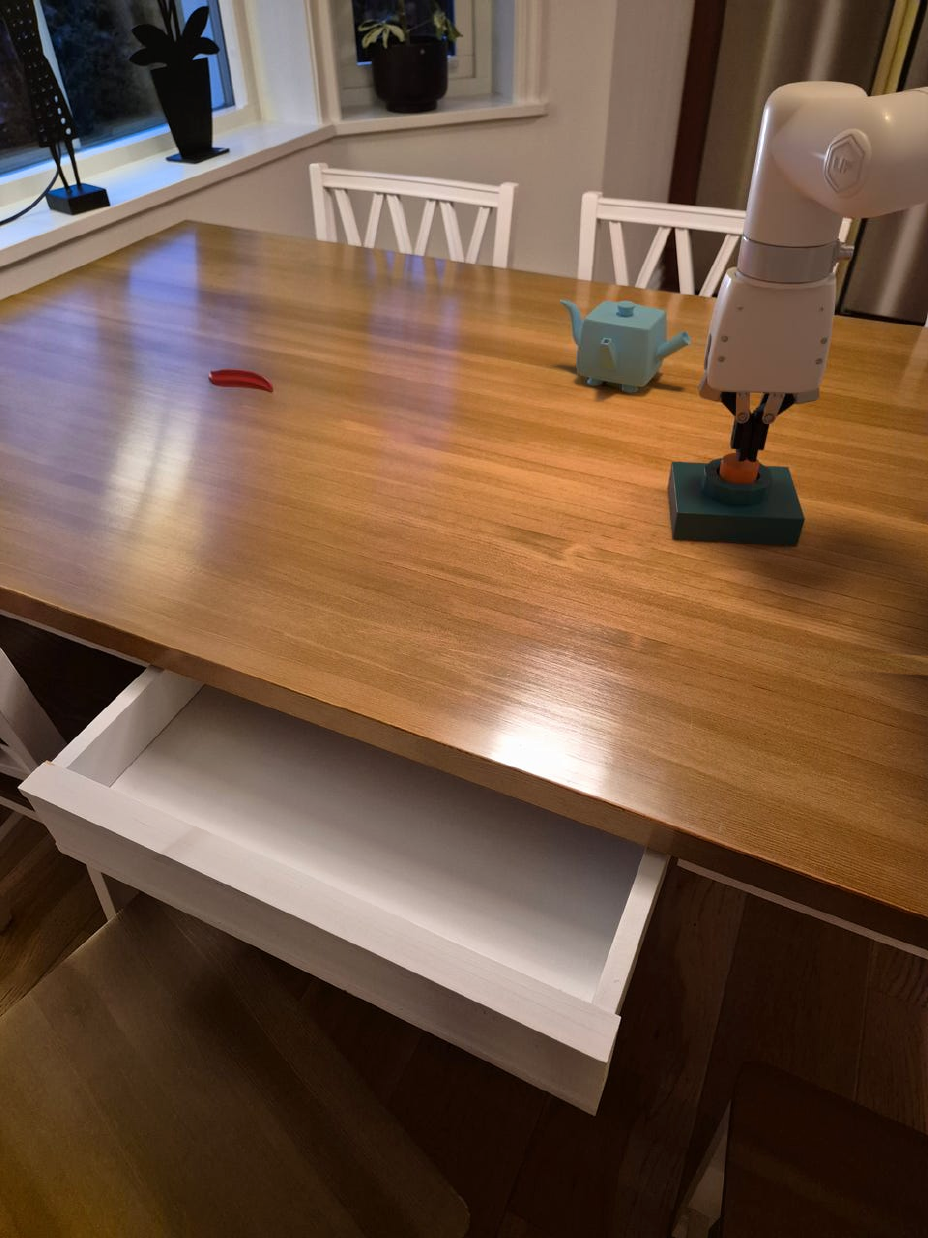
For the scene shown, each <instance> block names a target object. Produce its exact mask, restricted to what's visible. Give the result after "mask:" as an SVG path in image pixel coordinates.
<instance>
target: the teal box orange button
mask: <svg viewBox="0 0 928 1238" xmlns="http://www.w3.org/2000/svg"><path fill="white" fill-rule="evenodd" d="M722 458H723V457H720V458H719V457H718V458H715V459H712V460H710V461H709V462H707V463H706V462H690V461H689V462H688V461H671V463H670V470H669V476H668V482H667V495H668V504H669V512H670V513H669V514H670V523H671V525H670V526H671V535H672V539H673V540H680V541H682V540H683V541H698V542H699V541H700V542H715V543H717V542H719V543H735V544H751V545H752V544H753V545H770V546H788V547H789V546H790V547H797V546H798V545H799V542H800V538H801V535H802V532H803V527H804V525H805V521H806V518H805V515H804V512H803V508H802V506H801V503H800V499H799V496H798V493H797V490H796V487H795V484H794V480H793V477H792V474H791V471H790V467H789V466H778V465H777V466H776V465H773V466H772V465H764V464H762V463H761V462H759V463H760V465H759V469H758V474H757V478H756V481H755V482H753V483H749V484H734V483H731V482H728V481H725V480H723V479H722V478H721V477H720V476H719V472H720V466H721V461H722Z"/></svg>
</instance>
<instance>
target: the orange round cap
mask: <svg viewBox="0 0 928 1238" xmlns="http://www.w3.org/2000/svg"><path fill="white" fill-rule="evenodd" d="M721 458H722V461H721V466H720V472H719V476H720V477H721V478H722V479H723V480H725V481H728V482H731V483H734V484H749V483H753V482H755V481H756V478H757V474H758V469H759V465H760V463H761V462H760V460H759V459H758V457H757V458H756V462H750V461H749V460H744V462H740V461H738V458H737V454H736V452H730V453H727V454H725V455H723V457H721Z"/></svg>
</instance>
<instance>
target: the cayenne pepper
mask: <svg viewBox="0 0 928 1238" xmlns="http://www.w3.org/2000/svg"><path fill="white" fill-rule="evenodd" d="M208 380H209V382H211V384H213V385H215V386H217V387H242V388H251V389H258V390H264V391H267V392H270V393H273V392H274V386H273V384H272V382H271V381H270V380H268V379H267V378H265V377H263V376H262V375H261V374H259V373H258V372H257V373H256V372H254V371H249V370H245V369H237V368H236V369H235V368H224V369H218V370H212V369H210V372H208Z"/></svg>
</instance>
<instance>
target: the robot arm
mask: <svg viewBox="0 0 928 1238" xmlns="http://www.w3.org/2000/svg"><path fill="white" fill-rule="evenodd" d="M760 122H761V123H760V128H759V134H758V141H757V146H756V152H755V157H754V164H753V169H752V176H751V182H750V186H749V187H750V188H749V194H748V199H747V205H746V211H745V217H744V223H743V227H742V228H743V229H742V234H741V240H740V247H739V253H738V257H737V258H738V259H737V263H736V264H737V265H736V266H732V267H730V268H727V269H726V271H725V274H724V276H723V279H722V282H721V285H720V288H719V291H718V294H717V297H716V301H715V303H714V309H713V311H712V317H711V321H710V325H709V331H708V335H707V340H706V344H705V350H704V357H703V370H704V373H703V375H702V377H701V380H700V381H699V384H698V387H697V390H698V394H699V395H698V396H699V397H700V398H701V399H703V400H704V399H705V400H707V401H712V402H716V403H722V404H723V406H724V407H725V408H726V409H727V410H728V411H729V412H730V413H731V415H732V416H733V417H734V420H733V425H732V430H731V434H730V444H729V445H730V449H731V450H735V453H736V454H737V458H738V461H740V462H744V460H749V461H750V462H756V458H757V459H758V453H759V451H765V447H766V443H767V438H768V434H769V429H770V425H771V424H773V423H774V422H775V421H776V419H777V418H778V416H779V415H781V414H782V413H784V412H785V411H787V410H788V409H789V408H791V407H792V406H793V405H801V404H806V403H812V402H816V401H817V400H819V398H820V385H821V384H822V382H823V378H824V375H825V373H826V372H825V371H826V367H827V363H828V358H829V353H830V347H831V341H832V335H833V326H834V320H835V311H836V300H837V277H836V273H835V272H834V268H835V267H836V266H837V264H841V263H842V262H851V261H852V259H853V257H854V253H855V244H854V243H845V242H844V241H841V239H840V238H839V237H840V234H841V233H840V232H841V228H842V224H843V220H844V216H846V217H849V218H853V219H868V218H875V217H880V216H883V215H888V214H891V213H895V212H899V211H902V210H906V209H909V208H912V207H914V206H918V205H922V204H927V203H928V86H923V87H917V88H910V89H906V90H902V91H898V92H892V93H887V94H885V93H884V94H880V95H872V96H871V95H870V96H868V94H867V92H866V91H865V89H863V88H862V87H860V86H858V85H856V84H852V83H848V82H839V81H826V80H825V81H824V80H815V81H813V80H811V81H800V82H799V81H798V82H792V83H787V84H784V85H782V86H779V87H777V88H776V89H775V90H774V91H772V92H771V93H770V95H769V96H768V98H767V100H766V102H765V105H764V108H763V112H762V117H761V121H760ZM751 393H754V394H755V393H756V394H761V397H760V399H759V402H758V405H757V407H756V408H755V409H753V411H752V412H751Z"/></svg>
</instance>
